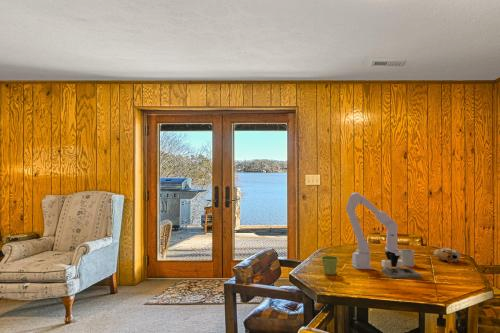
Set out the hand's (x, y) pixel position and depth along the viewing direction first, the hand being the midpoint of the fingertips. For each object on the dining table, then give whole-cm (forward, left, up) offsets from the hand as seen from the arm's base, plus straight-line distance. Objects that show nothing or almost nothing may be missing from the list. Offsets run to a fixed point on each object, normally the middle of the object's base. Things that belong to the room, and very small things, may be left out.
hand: (392, 265), depth 195 cm
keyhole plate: (0, -10, -2) cm, 10 cm away
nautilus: (+41, +15, -2) cm, 44 cm away
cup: (+12, +9, -2) cm, 15 cm away
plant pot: (-38, -6, -2) cm, 39 cm away
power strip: (0, 0, -2) cm, 2 cm away
